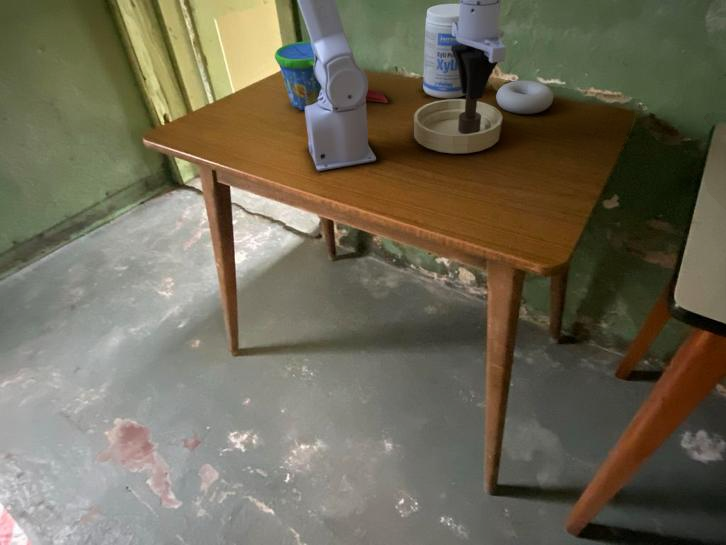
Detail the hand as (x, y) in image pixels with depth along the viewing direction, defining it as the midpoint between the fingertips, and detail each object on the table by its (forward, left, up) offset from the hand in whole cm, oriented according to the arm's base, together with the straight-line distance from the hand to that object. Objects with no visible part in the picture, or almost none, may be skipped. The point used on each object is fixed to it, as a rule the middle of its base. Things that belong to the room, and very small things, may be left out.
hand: (471, 95), depth 78 cm
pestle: (0, 0, -6) cm, 6 cm away
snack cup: (-23, +23, -7) cm, 33 cm away
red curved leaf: (-13, +22, -7) cm, 27 cm away
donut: (+14, +7, -7) cm, 17 cm away
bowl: (-2, 0, -7) cm, 7 cm away
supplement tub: (+4, +19, -7) cm, 21 cm away
